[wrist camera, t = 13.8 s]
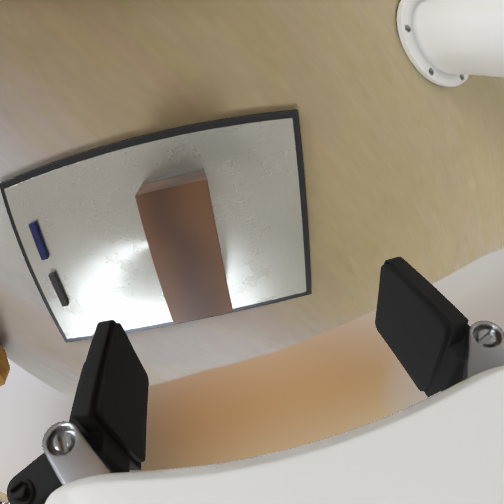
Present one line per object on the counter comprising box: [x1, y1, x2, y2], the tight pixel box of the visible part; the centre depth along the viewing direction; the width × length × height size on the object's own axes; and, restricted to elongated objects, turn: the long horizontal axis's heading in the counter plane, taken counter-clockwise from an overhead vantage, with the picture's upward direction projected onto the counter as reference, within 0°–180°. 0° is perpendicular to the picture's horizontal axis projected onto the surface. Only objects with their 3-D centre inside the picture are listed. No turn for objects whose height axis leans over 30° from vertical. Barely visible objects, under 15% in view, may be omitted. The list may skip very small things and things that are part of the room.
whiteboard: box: [0, 110, 311, 342], centre depth 29 cm, size 30×20×1 cm, turn 98°
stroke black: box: [48, 272, 69, 307], centre depth 28 cm, size 1×4×1 cm, turn 8°
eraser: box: [135, 168, 233, 324], centre depth 27 cm, size 6×12×5 cm, turn 8°
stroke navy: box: [28, 221, 49, 260], centre depth 26 cm, size 1×4×1 cm, turn 8°
